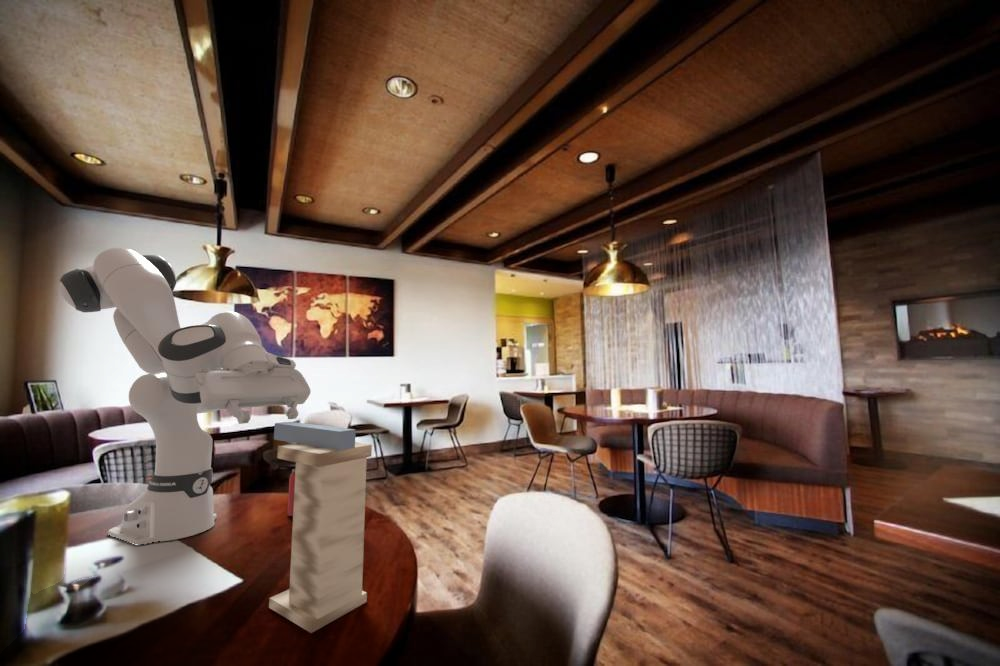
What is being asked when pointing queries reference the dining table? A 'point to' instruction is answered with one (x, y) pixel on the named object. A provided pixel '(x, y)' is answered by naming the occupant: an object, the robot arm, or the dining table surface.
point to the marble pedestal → (325, 534)
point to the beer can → (291, 493)
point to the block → (315, 435)
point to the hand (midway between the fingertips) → (270, 419)
